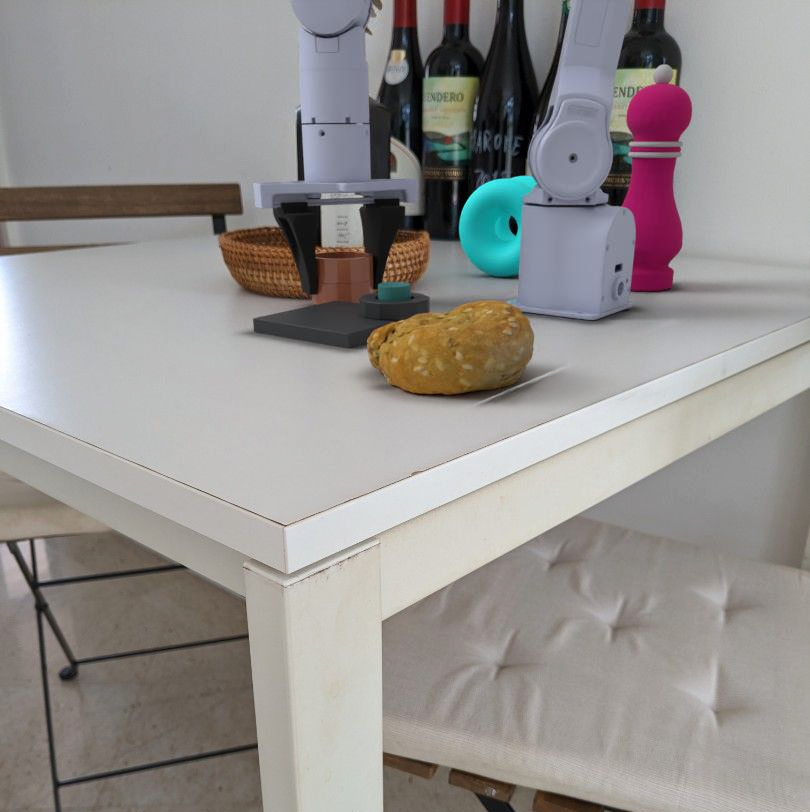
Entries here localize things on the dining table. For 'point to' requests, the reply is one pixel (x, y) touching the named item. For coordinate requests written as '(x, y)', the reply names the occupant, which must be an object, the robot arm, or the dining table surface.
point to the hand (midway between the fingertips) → (341, 290)
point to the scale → (340, 320)
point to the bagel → (454, 349)
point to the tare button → (394, 291)
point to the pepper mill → (656, 178)
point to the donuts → (494, 225)
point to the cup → (343, 276)
